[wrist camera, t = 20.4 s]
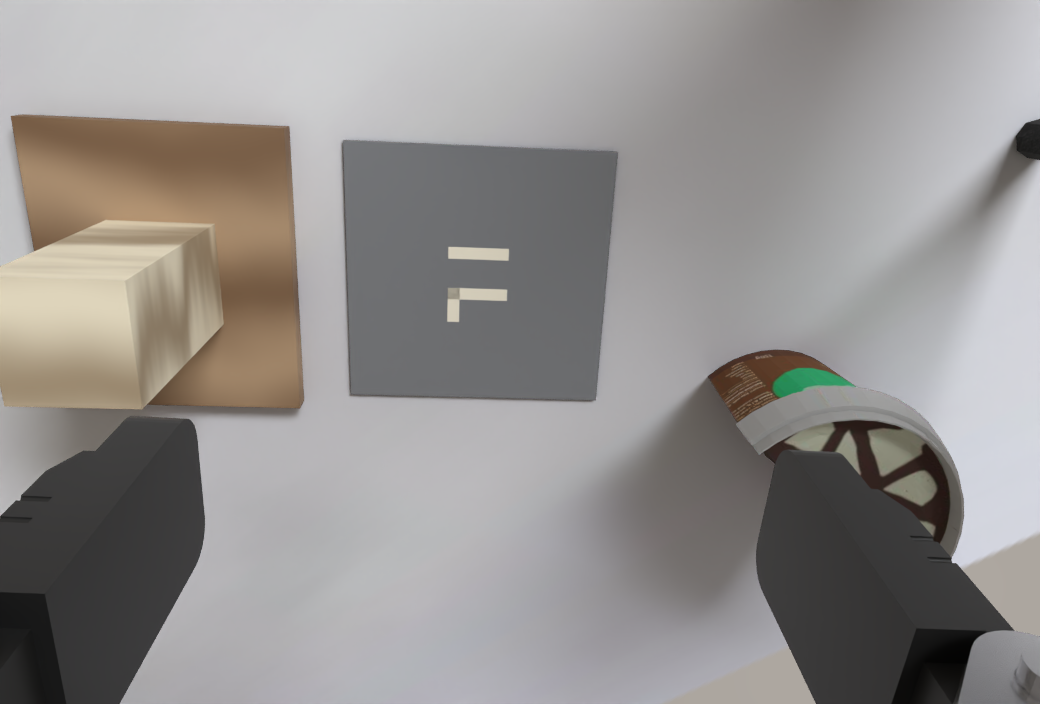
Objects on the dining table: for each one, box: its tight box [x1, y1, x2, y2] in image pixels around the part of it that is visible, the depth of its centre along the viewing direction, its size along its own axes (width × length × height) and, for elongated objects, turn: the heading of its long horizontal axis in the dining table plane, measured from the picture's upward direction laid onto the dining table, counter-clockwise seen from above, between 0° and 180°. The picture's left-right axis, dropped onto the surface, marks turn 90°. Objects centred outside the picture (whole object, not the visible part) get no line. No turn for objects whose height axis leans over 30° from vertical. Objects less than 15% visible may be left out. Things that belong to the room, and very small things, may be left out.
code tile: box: [343, 140, 618, 400], centre depth 40 cm, size 13×13×1 cm
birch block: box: [0, 220, 224, 409], centre depth 33 cm, size 5×5×10 cm
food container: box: [708, 350, 964, 558], centre depth 38 cm, size 12×6×10 cm, turn 44°
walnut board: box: [11, 115, 304, 408], centre depth 38 cm, size 14×12×1 cm
